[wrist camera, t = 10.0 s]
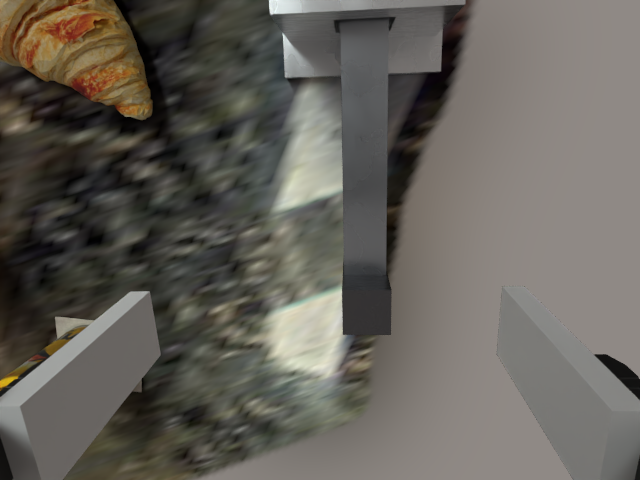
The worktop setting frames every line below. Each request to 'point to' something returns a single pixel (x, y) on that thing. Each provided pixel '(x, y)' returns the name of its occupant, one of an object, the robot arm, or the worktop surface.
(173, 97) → the worktop surface
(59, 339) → the condiment
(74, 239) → the worktop surface
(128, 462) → the worktop surface
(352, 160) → the bar
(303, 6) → the frame
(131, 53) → the croissant
